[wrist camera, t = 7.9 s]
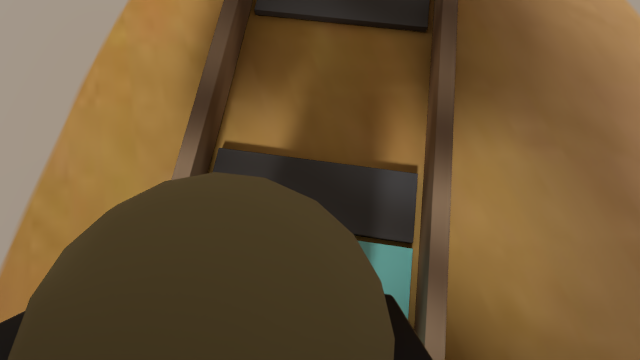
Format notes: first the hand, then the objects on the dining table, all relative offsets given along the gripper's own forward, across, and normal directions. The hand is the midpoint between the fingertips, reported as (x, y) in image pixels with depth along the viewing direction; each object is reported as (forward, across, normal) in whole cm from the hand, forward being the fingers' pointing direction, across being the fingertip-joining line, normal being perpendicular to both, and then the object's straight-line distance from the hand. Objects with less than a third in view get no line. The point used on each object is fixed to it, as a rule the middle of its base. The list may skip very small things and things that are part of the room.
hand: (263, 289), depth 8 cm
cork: (+4, 0, +5) cm, 7 cm away
